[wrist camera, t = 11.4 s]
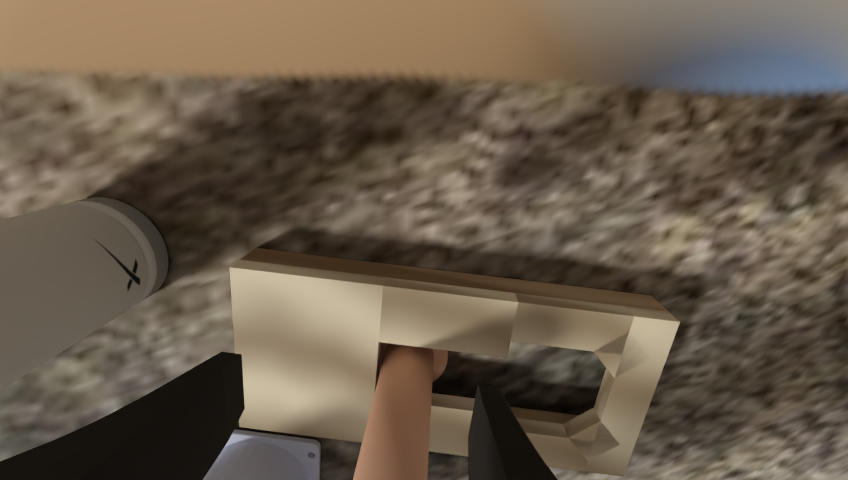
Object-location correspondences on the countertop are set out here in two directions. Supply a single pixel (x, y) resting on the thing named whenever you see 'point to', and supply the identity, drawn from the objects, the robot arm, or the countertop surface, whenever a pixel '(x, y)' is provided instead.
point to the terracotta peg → (400, 414)
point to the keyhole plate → (437, 329)
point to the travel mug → (71, 276)
